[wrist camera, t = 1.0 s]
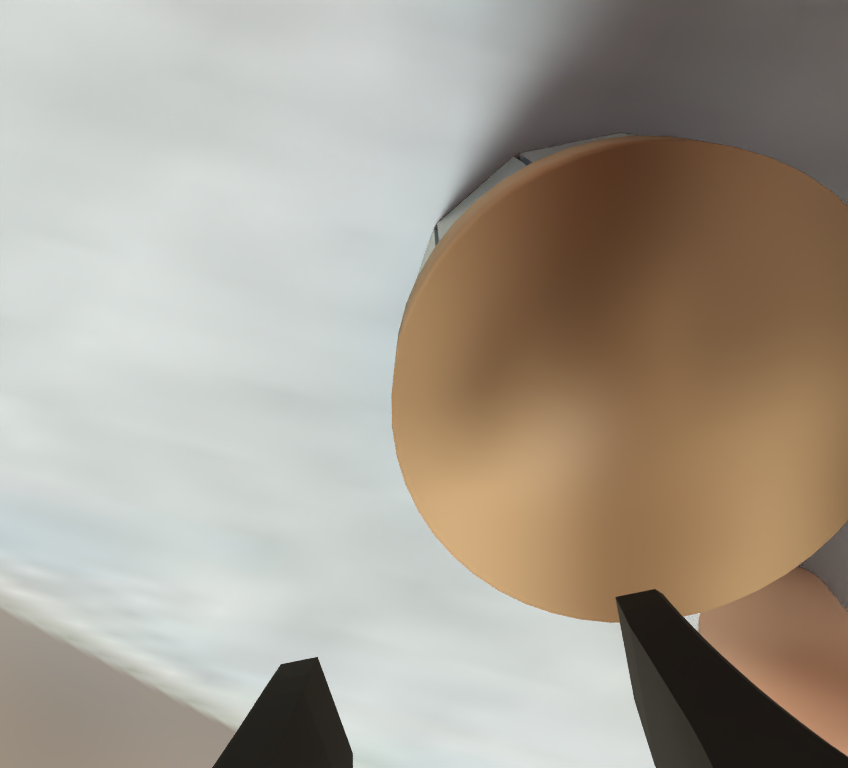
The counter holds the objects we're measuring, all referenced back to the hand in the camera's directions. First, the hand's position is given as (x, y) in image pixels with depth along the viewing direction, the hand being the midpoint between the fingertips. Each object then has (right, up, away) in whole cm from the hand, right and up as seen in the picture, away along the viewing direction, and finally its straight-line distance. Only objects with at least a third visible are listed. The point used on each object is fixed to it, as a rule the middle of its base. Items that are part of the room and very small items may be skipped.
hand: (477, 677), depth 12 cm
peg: (+9, -2, +11) cm, 15 cm away
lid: (+4, +5, +5) cm, 8 cm away
